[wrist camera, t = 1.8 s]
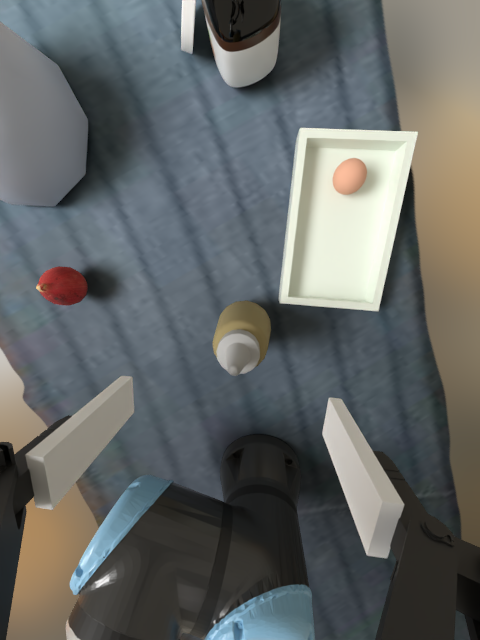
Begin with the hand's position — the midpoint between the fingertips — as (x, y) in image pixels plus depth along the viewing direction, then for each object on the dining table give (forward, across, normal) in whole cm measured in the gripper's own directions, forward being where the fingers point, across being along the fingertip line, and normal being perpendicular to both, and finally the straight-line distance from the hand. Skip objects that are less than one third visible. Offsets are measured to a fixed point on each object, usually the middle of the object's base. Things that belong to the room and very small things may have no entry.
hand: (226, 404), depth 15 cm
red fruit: (+24, +28, -4) cm, 37 cm away
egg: (+23, -12, -21) cm, 33 cm away
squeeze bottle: (+24, 0, 0) cm, 24 cm away
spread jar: (+24, +5, -36) cm, 43 cm away
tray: (+24, -12, -15) cm, 30 cm away
